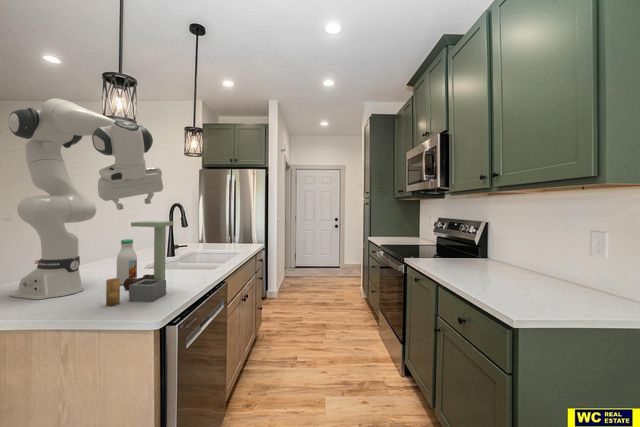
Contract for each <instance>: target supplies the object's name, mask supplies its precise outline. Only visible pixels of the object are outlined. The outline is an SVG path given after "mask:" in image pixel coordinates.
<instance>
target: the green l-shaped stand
mask: <svg viewBox="0 0 640 427" xmlns="http://www.w3.org/2000/svg"><path fill="white" fill-rule="evenodd" d="M168 226H174V221H170V220H168V221H165V220H164V221H163V220H144V221H132V222H130V227H134V228H135V227H138V228H141V227H142V228H143V227H144V228H153V230H154V231H153V232H154V235H153V238H154V239H153V246H154V247H153V275H154V280H166V242H167V241H166V238H167V237H166V234H167V233H166V232H167V230H166V229H167V228H166V227H168Z"/></svg>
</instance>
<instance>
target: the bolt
mask: <svg viewBox="0 0 640 427" xmlns="http://www.w3.org/2000/svg"><path fill="white" fill-rule="evenodd" d="M144 279H152V280H154V274H144V275H143V276H142V277H140V278H138V277H137V279H135V278H127V279H126V280H125V281H124V285H123V288H124V290H125V291H129V285H131V284H134V283H136V282H139V281H141V280H144Z"/></svg>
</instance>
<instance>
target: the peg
mask: <svg viewBox="0 0 640 427" xmlns="http://www.w3.org/2000/svg"><path fill="white" fill-rule="evenodd" d="M105 282H106V284H105V288H106V289H105V300H106V301H105V306H107V307H114V306H117V305H120V304H121V302H120V301H121V300H120V299H121V298H120V296H121V294H120V293H121V292H120V290H121V289H120V288H121V285H120V279H119V278H117V277H112V278H109V279H108V278H107V279H106V280H105Z"/></svg>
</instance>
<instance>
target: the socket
mask: <svg viewBox="0 0 640 427" xmlns="http://www.w3.org/2000/svg"><path fill="white" fill-rule="evenodd" d="M128 292H129V293H128V301H129V302H142V303H143V302H147V303H153V302H155V301H157V300H159V299H161V298H163V297H165V296H166V295H167V279H165V280H152V279H144V280H141V281H139V282H136V283H134V284H131V285H129V290H128Z"/></svg>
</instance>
